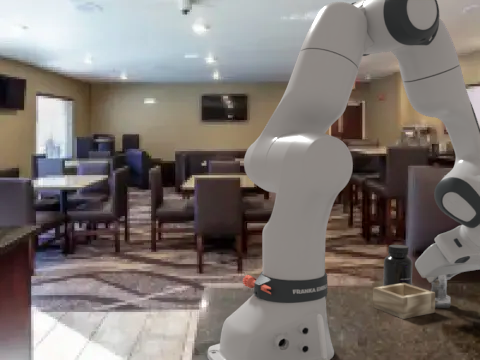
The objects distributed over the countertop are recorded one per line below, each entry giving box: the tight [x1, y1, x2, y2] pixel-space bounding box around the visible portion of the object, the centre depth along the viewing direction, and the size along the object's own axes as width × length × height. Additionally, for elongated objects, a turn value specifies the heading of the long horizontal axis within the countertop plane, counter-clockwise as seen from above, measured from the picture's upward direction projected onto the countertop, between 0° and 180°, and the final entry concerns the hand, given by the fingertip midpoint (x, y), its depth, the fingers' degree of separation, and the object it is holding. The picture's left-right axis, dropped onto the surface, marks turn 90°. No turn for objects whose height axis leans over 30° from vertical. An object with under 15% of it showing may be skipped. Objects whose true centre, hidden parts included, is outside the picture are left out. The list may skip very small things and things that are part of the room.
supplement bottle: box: [382, 244, 413, 286], centre depth 129 cm, size 7×7×12 cm
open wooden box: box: [372, 283, 436, 320], centre depth 116 cm, size 9×9×4 cm
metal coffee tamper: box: [431, 274, 451, 309], centre depth 120 cm, size 5×5×11 cm
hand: (437, 278), depth 120 cm, fingers closed on metal coffee tamper, 3 cm apart
